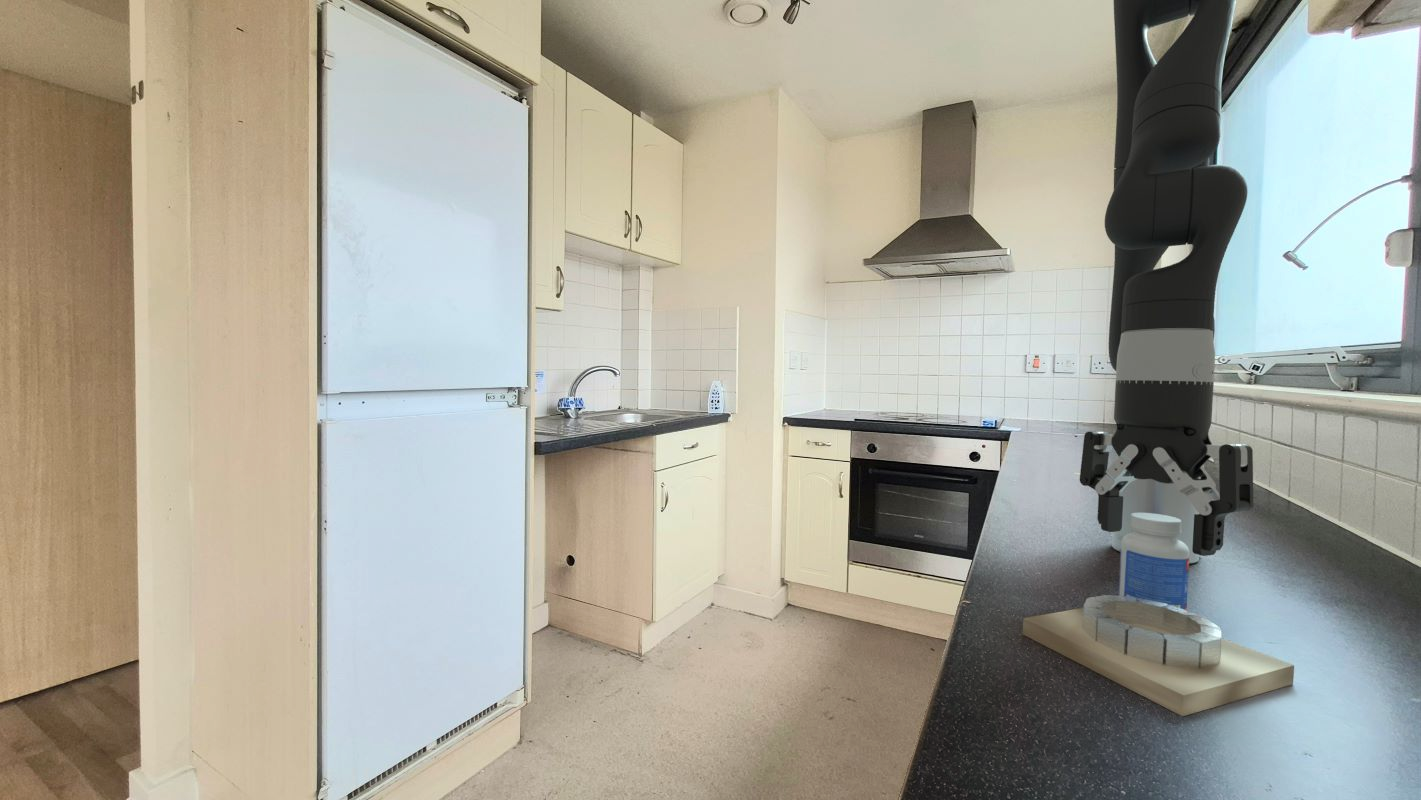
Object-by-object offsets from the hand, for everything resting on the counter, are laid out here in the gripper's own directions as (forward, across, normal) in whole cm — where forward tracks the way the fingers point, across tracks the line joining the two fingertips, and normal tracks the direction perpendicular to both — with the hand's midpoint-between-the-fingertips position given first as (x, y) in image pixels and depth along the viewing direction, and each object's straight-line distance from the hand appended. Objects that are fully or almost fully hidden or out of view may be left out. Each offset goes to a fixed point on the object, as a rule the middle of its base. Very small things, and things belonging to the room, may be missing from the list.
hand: (1154, 541), depth 56 cm
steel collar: (+6, -6, +9) cm, 13 cm away
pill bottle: (+8, 0, 0) cm, 8 cm away
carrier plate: (+8, -6, +9) cm, 13 cm away
